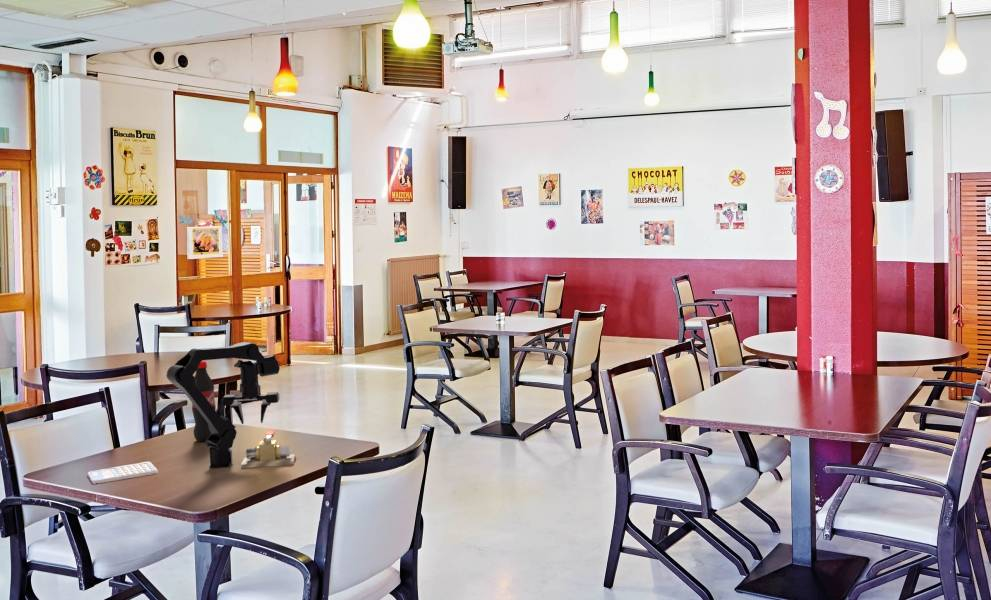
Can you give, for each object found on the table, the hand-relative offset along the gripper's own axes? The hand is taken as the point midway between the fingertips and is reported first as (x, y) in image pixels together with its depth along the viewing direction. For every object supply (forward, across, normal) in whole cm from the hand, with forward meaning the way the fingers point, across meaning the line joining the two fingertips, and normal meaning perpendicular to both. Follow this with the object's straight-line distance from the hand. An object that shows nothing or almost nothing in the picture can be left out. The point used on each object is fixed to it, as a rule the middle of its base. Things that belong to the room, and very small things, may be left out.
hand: (252, 423), depth 316 cm
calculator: (+13, +41, +11) cm, 44 cm away
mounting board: (+12, -6, +8) cm, 16 cm away
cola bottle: (+12, +22, -30) cm, 40 cm away
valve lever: (+5, -6, +4) cm, 8 cm away
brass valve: (+11, -6, +8) cm, 15 cm away
